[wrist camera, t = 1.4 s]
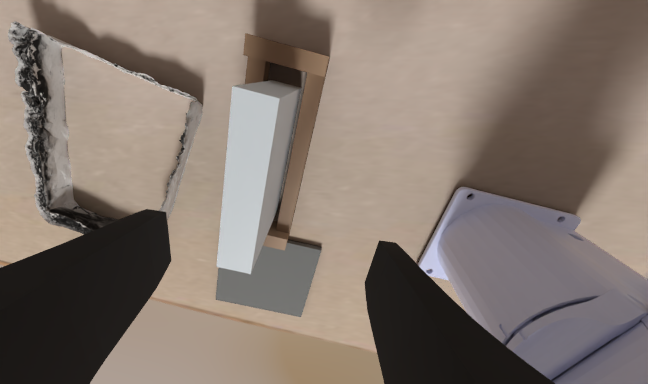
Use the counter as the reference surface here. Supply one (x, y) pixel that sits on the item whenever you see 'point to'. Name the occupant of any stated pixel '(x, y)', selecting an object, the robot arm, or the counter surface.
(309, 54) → the rack
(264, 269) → the mat
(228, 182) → the board
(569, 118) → the counter surface
